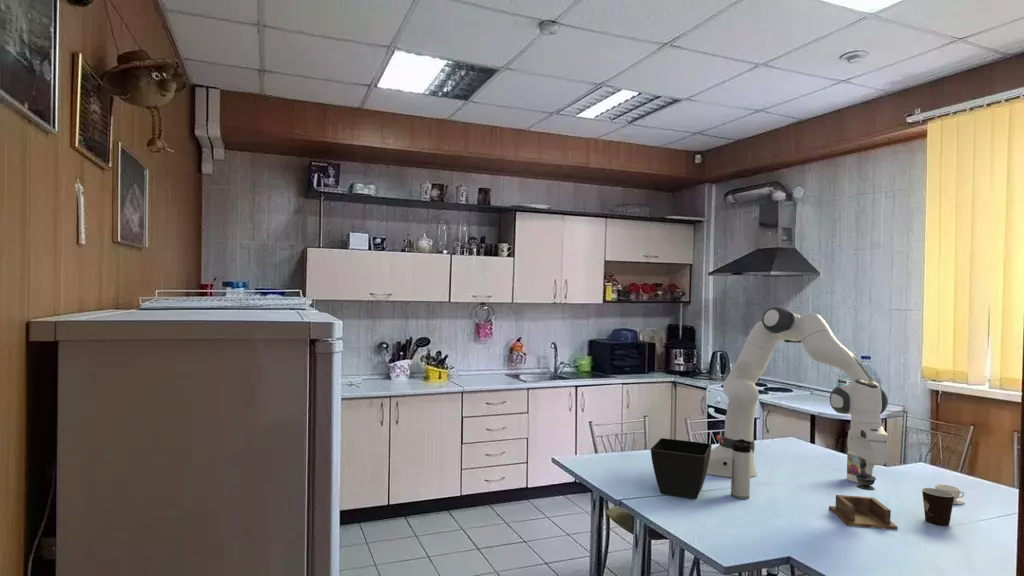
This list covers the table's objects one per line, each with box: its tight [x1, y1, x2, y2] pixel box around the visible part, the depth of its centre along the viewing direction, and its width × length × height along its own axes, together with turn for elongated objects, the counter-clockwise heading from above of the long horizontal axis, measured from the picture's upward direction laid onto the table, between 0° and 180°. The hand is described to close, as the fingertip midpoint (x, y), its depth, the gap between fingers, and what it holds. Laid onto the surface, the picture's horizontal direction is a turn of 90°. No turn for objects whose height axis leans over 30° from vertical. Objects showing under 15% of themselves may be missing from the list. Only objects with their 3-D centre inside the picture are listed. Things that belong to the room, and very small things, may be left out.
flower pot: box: [650, 437, 713, 500], centre depth 219 cm, size 19×19×17 cm
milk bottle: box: [846, 449, 861, 484], centre depth 240 cm, size 8×8×20 cm
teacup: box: [935, 483, 965, 505], centre depth 220 cm, size 10×10×5 cm
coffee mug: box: [921, 487, 954, 528], centre depth 198 cm, size 12×9×10 cm
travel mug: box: [730, 439, 751, 500], centre depth 216 cm, size 6×7×20 cm
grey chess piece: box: [855, 458, 877, 491], centre depth 198 cm, size 6×6×12 cm
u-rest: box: [828, 494, 899, 530], centre depth 198 cm, size 15×15×6 cm
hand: (865, 471), depth 198 cm, fingers closed on grey chess piece, 3 cm apart
